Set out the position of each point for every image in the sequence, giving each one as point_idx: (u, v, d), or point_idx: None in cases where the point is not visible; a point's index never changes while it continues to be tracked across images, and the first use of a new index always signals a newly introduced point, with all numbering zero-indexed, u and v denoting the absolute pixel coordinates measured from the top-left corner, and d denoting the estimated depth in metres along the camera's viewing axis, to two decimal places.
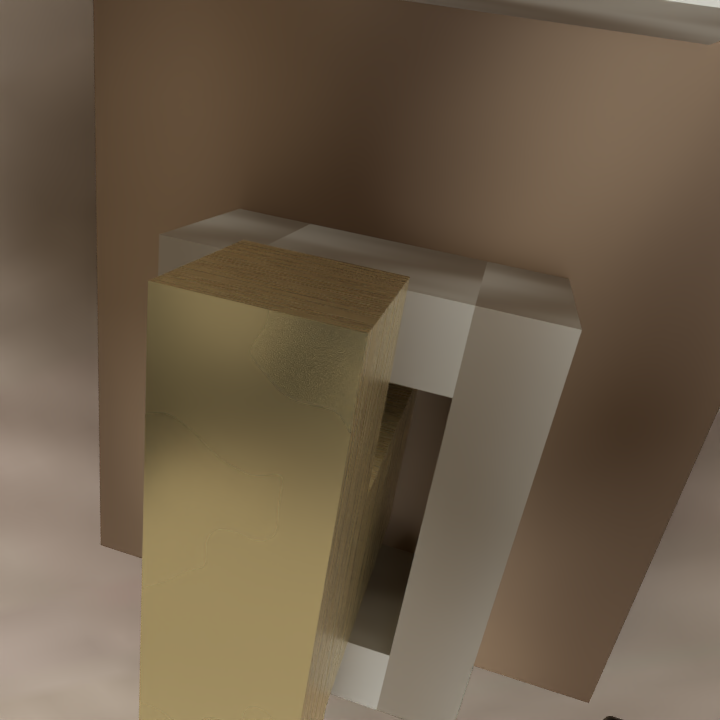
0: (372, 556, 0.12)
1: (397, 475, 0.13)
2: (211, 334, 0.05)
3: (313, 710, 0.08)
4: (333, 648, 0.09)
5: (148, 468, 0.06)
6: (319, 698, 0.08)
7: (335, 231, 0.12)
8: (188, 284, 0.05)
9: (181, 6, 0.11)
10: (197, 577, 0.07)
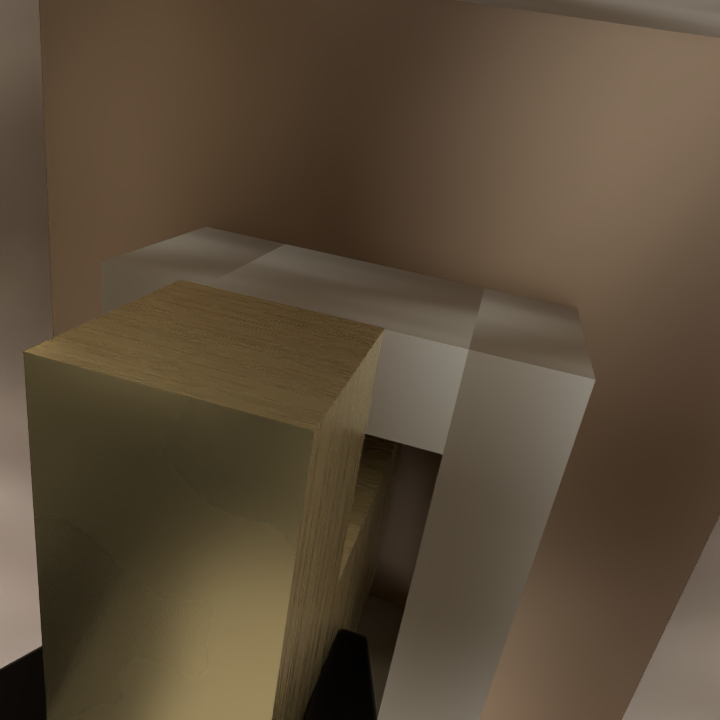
0: (353, 622, 0.10)
1: (384, 524, 0.12)
2: (110, 424, 0.04)
3: None
4: None
5: (46, 579, 0.05)
6: None
7: (312, 253, 0.10)
8: (78, 356, 0.04)
9: None
10: (112, 712, 0.05)
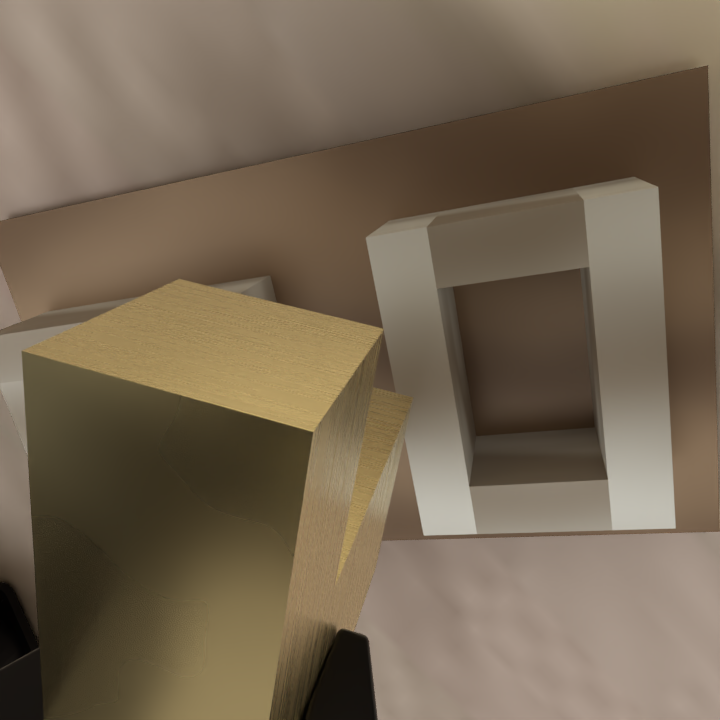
0: (351, 623, 0.10)
1: (382, 524, 0.12)
2: (107, 425, 0.04)
3: None
4: None
5: (42, 579, 0.05)
6: None
7: None
8: (75, 356, 0.04)
9: (365, 208, 0.18)
10: (109, 713, 0.05)
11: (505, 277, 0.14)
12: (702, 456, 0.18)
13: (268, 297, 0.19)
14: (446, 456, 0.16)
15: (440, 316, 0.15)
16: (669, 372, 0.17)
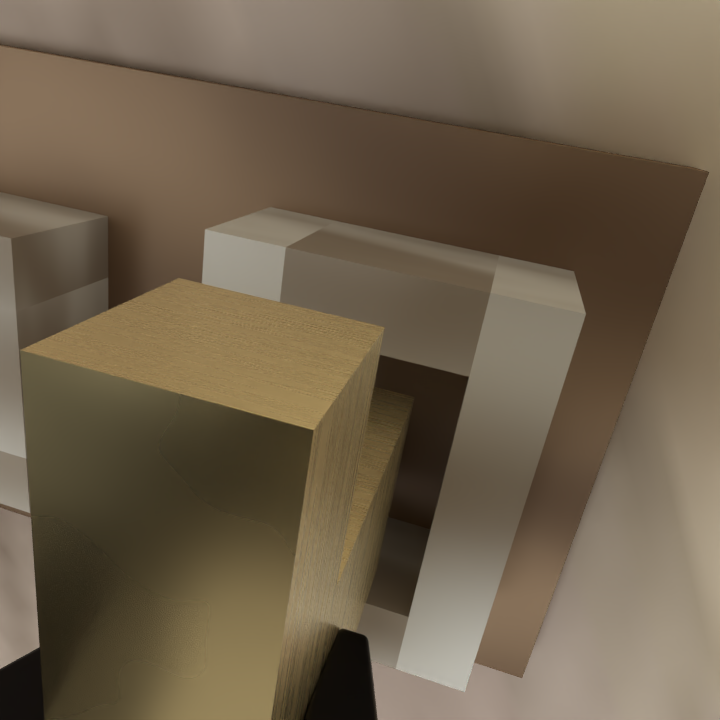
0: (353, 623, 0.10)
1: (384, 524, 0.12)
2: (106, 424, 0.04)
3: None
4: None
5: (44, 581, 0.05)
6: None
7: (103, 301, 0.15)
8: (75, 355, 0.04)
9: (246, 181, 0.13)
10: (110, 714, 0.05)
11: None
12: (532, 600, 0.15)
13: (94, 244, 0.14)
14: None
15: None
16: (530, 503, 0.14)
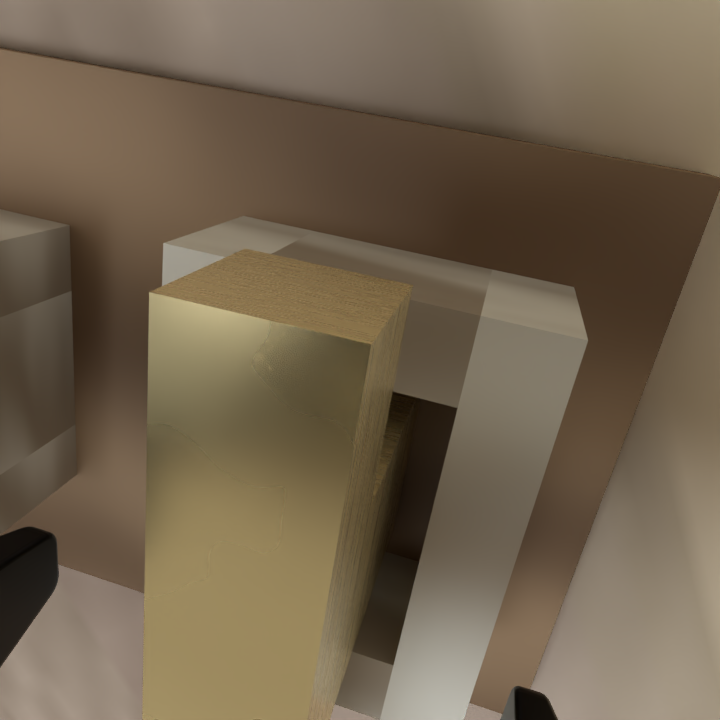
0: (376, 564, 0.12)
1: (401, 482, 0.13)
2: (213, 347, 0.05)
3: None
4: (337, 658, 0.09)
5: (150, 480, 0.06)
6: (323, 709, 0.08)
7: (66, 317, 0.14)
8: (189, 297, 0.05)
9: (217, 187, 0.12)
10: (200, 589, 0.06)
11: None
12: (529, 638, 0.14)
13: (53, 255, 0.13)
14: None
15: None
16: (527, 535, 0.13)
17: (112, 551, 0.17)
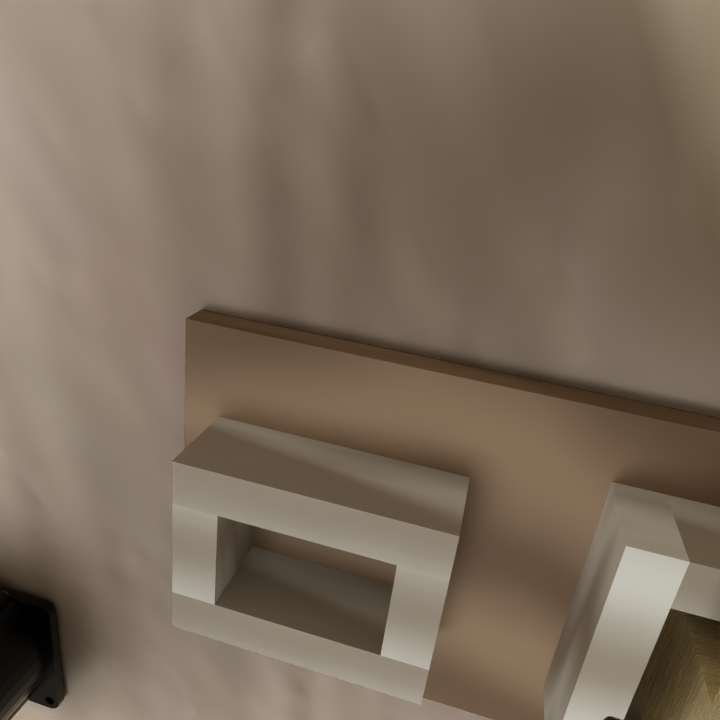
0: None
1: None
2: None
3: None
4: None
5: None
6: None
7: None
8: None
9: (594, 464, 0.18)
10: None
11: None
12: None
13: None
14: None
15: (661, 628, 0.16)
16: None
17: (452, 684, 0.22)
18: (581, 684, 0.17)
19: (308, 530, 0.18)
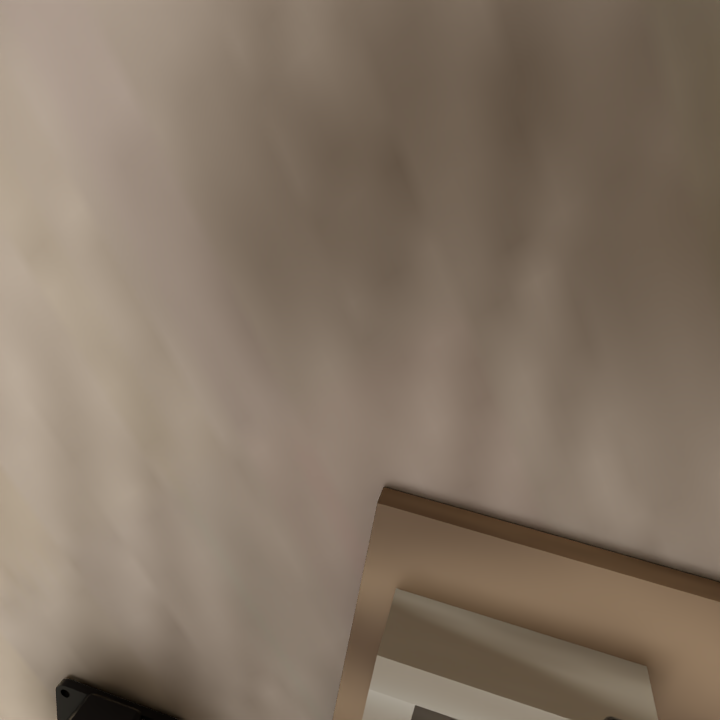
0: None
1: None
2: None
3: None
4: None
5: None
6: None
7: None
8: None
9: None
10: None
11: None
12: None
13: None
14: None
15: None
16: None
17: None
18: None
19: None
